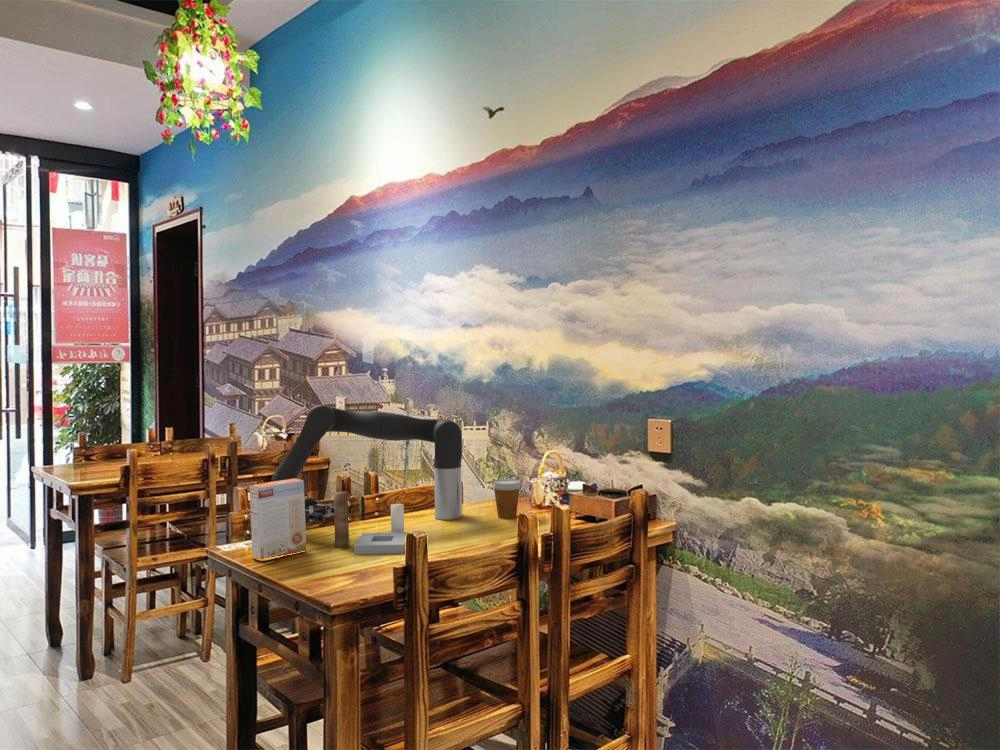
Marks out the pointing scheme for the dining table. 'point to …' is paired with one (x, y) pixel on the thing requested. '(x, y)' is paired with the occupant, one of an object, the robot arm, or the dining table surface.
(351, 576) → the dining table surface
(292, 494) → the cracker box
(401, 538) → the board
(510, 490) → the disposable coffee cup
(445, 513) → the robot arm
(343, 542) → the walnut dowel
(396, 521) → the cream rod
